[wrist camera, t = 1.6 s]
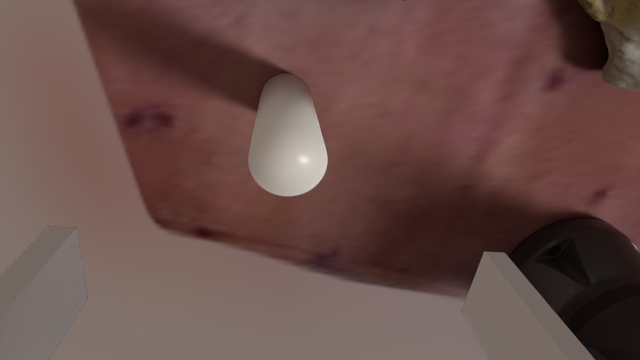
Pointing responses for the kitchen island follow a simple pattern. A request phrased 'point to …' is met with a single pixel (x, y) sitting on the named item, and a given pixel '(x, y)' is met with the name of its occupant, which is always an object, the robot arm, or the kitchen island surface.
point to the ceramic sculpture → (619, 39)
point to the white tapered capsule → (287, 138)
